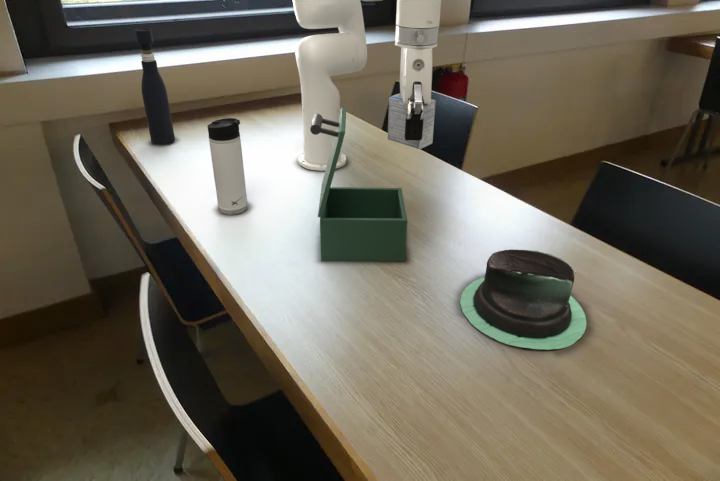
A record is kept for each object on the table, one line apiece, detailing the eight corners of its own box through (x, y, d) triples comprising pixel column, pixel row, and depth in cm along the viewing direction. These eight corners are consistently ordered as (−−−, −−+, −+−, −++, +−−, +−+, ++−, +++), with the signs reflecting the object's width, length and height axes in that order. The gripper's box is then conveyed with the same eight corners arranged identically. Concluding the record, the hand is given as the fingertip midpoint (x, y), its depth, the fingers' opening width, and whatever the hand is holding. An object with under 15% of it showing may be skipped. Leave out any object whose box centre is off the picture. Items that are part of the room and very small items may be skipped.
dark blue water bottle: (180, 140, 152) (161, 29, 137) (161, 147, 148) (140, 32, 132) (164, 136, 155) (145, 26, 140) (146, 142, 151) (124, 29, 135)
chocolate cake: (570, 271, 96) (613, 351, 79) (473, 308, 100) (494, 390, 84) (544, 206, 89) (585, 278, 72) (441, 250, 93) (457, 326, 77)
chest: (399, 226, 111) (401, 187, 107) (404, 261, 99) (407, 220, 95) (324, 225, 111) (323, 187, 106) (321, 261, 99) (319, 219, 95)
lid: (346, 107, 98) (316, 99, 97) (345, 132, 86) (311, 123, 86) (325, 185, 106) (298, 178, 105) (322, 218, 94) (291, 210, 94)
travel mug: (242, 216, 114) (232, 126, 103) (213, 213, 115) (200, 123, 104) (253, 203, 119) (244, 116, 109) (225, 200, 120) (214, 114, 110)
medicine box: (432, 144, 103) (437, 99, 98) (419, 150, 100) (422, 104, 95) (400, 134, 107) (403, 91, 103) (386, 140, 104) (388, 96, 100)
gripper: (446, 46, 86) (436, 147, 95) (431, 28, 101) (424, 117, 110) (399, 46, 86) (394, 147, 95) (391, 27, 101) (387, 116, 110)
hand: (410, 131), depth 102 cm, fingers closed on medicine box, 8 cm apart
